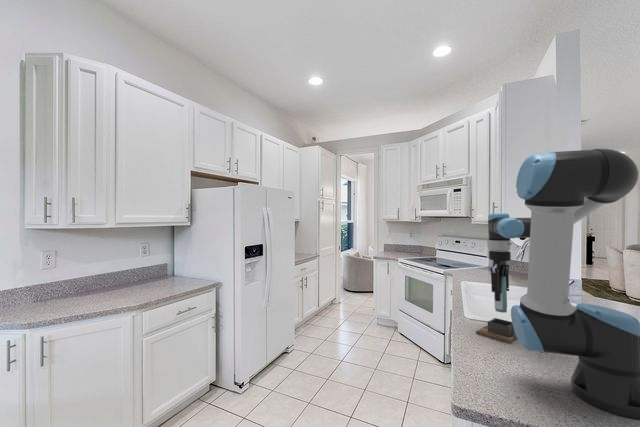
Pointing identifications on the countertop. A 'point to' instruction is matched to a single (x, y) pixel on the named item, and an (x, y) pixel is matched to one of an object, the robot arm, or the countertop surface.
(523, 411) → the countertop surface
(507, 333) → the bracket board
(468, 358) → the countertop surface
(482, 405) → the countertop surface
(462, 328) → the countertop surface
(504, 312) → the dowel
